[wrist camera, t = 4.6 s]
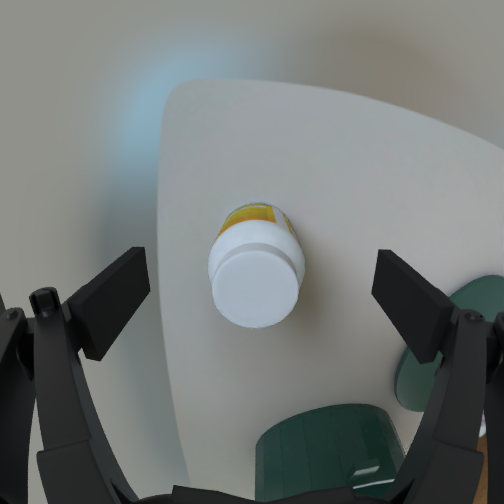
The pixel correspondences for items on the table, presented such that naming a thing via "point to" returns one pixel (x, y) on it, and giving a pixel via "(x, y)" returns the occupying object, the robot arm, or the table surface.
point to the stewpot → (328, 453)
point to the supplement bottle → (256, 266)
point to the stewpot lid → (422, 376)
